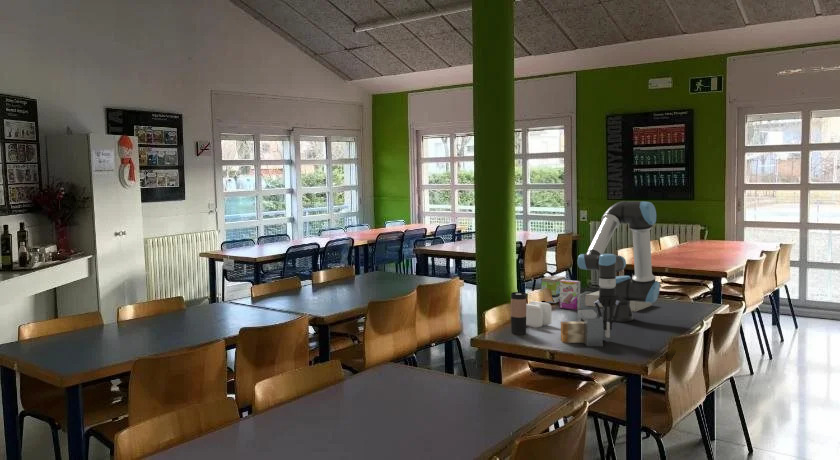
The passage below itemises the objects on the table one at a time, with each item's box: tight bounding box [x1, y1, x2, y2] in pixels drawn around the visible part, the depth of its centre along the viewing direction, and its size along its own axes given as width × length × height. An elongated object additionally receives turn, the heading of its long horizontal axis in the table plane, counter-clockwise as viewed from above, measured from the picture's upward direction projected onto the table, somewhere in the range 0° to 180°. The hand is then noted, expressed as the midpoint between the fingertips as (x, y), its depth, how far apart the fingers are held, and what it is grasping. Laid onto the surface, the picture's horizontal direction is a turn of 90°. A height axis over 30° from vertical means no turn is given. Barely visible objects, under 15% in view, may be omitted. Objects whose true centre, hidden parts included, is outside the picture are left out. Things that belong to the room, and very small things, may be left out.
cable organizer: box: [526, 300, 553, 329], centre depth 360 cm, size 15×11×12 cm
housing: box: [577, 309, 604, 347], centre depth 325 cm, size 7×20×13 cm, turn 0°
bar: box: [560, 320, 584, 344], centre depth 326 cm, size 18×5×9 cm, turn 89°
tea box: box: [540, 275, 566, 304], centre depth 428 cm, size 15×10×15 cm
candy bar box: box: [558, 279, 581, 311], centre depth 403 cm, size 11×5×16 cm, turn 58°
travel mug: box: [510, 291, 527, 336], centre depth 343 cm, size 8×8×20 cm
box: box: [584, 290, 653, 313], centre depth 411 cm, size 23×8×32 cm
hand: (607, 336), depth 326 cm, fingers closed
